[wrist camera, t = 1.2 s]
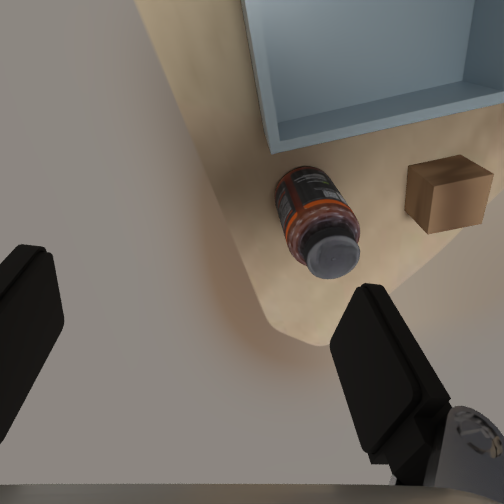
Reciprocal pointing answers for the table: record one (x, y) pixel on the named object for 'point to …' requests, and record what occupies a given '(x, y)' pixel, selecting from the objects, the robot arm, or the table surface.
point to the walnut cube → (447, 193)
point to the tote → (370, 64)
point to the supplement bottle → (317, 223)
